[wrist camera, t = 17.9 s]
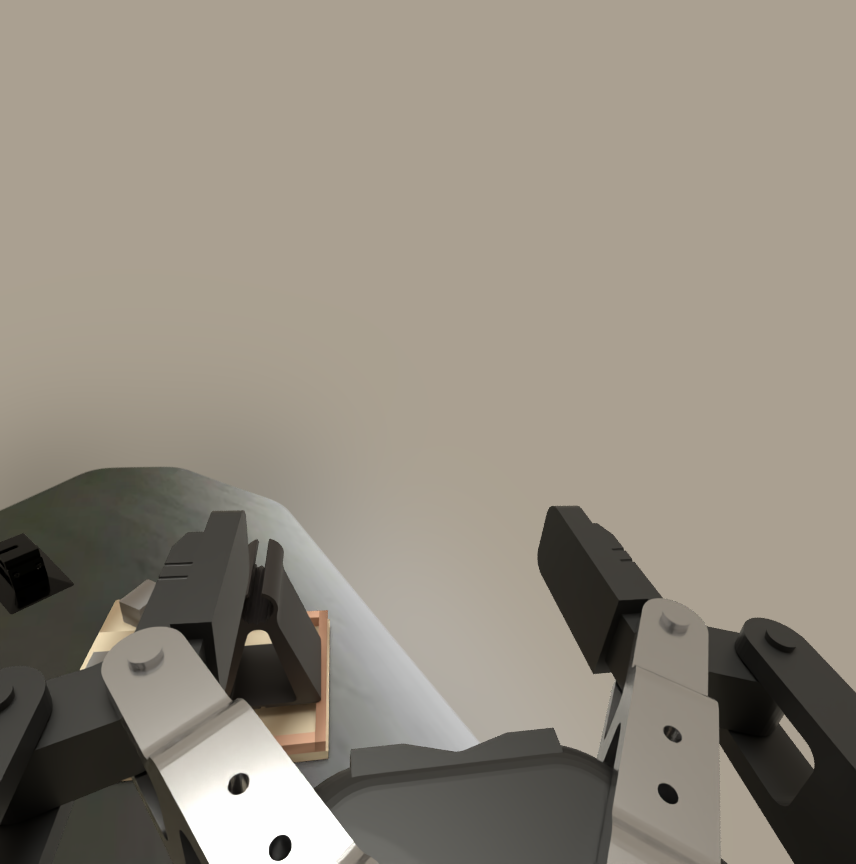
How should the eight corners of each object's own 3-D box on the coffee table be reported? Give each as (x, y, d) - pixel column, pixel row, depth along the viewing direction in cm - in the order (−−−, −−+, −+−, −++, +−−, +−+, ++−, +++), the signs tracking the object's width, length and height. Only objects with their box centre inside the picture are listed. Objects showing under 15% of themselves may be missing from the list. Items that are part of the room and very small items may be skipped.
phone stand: (321, 642, 46) (322, 536, 41) (320, 702, 41) (321, 590, 35) (216, 650, 44) (203, 541, 39) (201, 714, 39) (183, 598, 34)
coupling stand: (24, 791, 35) (11, 760, 33) (117, 607, 50) (111, 579, 48) (328, 758, 39) (328, 729, 37) (329, 597, 54) (330, 571, 52)
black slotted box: (-39, 571, 53) (-53, 536, 51) (41, 539, 58) (31, 506, 56) (8, 633, 47) (-6, 596, 45) (93, 590, 52) (84, 556, 50)
